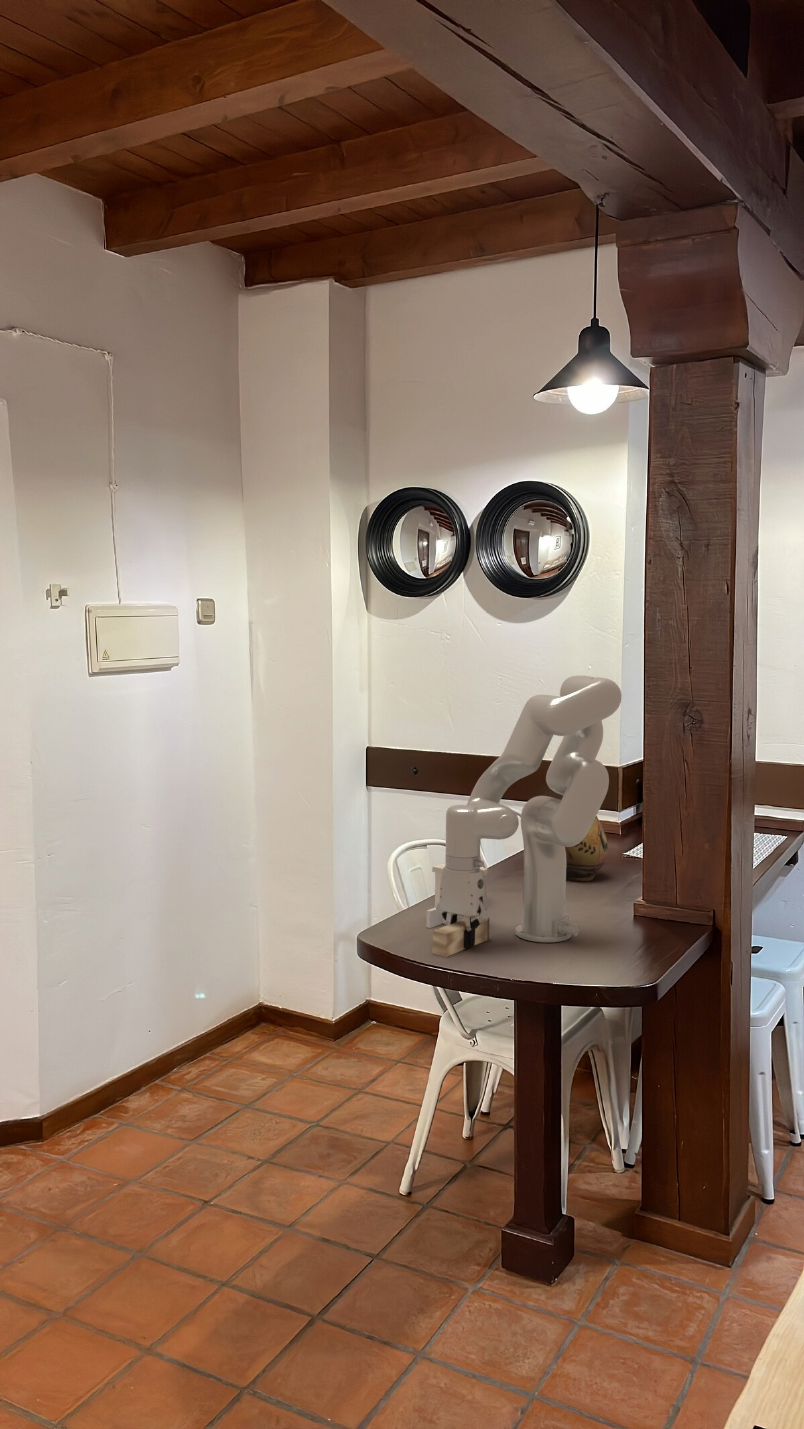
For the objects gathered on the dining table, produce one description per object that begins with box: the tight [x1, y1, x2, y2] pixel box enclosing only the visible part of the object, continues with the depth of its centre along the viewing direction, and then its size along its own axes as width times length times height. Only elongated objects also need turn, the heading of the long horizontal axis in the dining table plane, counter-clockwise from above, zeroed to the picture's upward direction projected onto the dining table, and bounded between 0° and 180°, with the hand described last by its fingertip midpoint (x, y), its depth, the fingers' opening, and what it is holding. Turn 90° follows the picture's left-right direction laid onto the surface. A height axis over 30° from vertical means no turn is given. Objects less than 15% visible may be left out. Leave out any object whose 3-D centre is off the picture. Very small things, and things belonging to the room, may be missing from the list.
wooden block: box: [432, 915, 490, 958], centre depth 235 cm, size 16×4×5 cm, turn 140°
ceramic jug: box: [565, 814, 609, 882], centre depth 297 cm, size 17×15×30 cm
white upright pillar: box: [426, 862, 489, 929], centre depth 250 cm, size 12×11×13 cm
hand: (461, 944), depth 235 cm, fingers closed on wooden block, 3 cm apart
